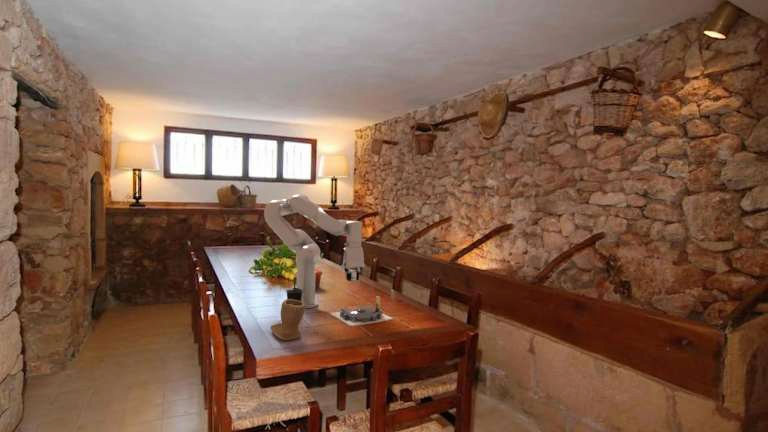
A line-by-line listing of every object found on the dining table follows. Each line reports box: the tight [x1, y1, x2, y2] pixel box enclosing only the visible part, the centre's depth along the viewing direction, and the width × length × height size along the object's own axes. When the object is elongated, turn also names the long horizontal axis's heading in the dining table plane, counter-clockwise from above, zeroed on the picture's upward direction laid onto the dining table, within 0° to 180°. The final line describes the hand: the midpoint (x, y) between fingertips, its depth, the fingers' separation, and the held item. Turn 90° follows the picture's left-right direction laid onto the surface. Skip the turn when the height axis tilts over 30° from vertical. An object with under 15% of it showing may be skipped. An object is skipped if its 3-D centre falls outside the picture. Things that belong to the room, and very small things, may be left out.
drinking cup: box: [286, 276, 303, 301], centre depth 198 cm, size 8×8×20 cm
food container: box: [295, 268, 323, 291], centre depth 262 cm, size 16×16×11 cm
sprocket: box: [339, 295, 384, 322], centre depth 205 cm, size 21×21×9 cm
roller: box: [350, 269, 358, 282], centre depth 218 cm, size 4×4×5 cm
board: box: [330, 311, 394, 328], centre depth 205 cm, size 23×21×1 cm
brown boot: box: [270, 298, 306, 341], centre depth 175 cm, size 15×12×15 cm
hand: (352, 279), depth 218 cm, fingers closed on roller, 4 cm apart
